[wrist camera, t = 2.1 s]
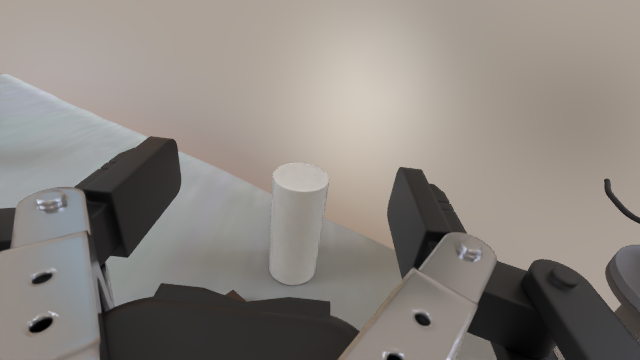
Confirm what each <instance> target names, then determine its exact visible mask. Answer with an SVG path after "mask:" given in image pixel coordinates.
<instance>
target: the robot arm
mask: <svg viewBox="0 0 640 360" xmlns="http://www.w3.org/2000/svg"><path fill="white" fill-rule="evenodd" d="M604 182H605V192H606V194H607V196H608V197H609V198H610V200H611V201H612V202H613V203H614V204H615V206H616V207H617V208H618V209H619V210H620V211H621V212H622V213H623V214H624V215H626V216H627V217H628V218H630V219H631V220H634V221H635V222H637V223H639V224H640V218H639V217H637V216H635V215H634V214H632V213H631V212H630V211H629V210H627V209H626V208H625V207H624V206H623V205H622V204H621V202H620V201H619V200H618V199H617V198H616V197H615V195H614V194H613V193H612V191H611V184H610V180H609V179H605V180H604ZM180 186H181V173H180V165H179V156H178V149H177V144H176V141H175V140H174V139H169V138H160V137H152V136H151V137H149V138H147V139H146V140H145V141H144V142H142V143H141V144H140V145H138V146H137V147H136V148H133V149H130V150H127V151H125V152H122V153H120V154H118V155H117V156H115V157H114V158H113V159H111V160H110V161H109V163H106V164H105V165H103V166H102V167H101V169H98V170H97V171H95V172H94V173H92V174H91V175H90V176H88V177H87V178H86V179H84V180H83V181H82V182H80V183H79V184H78V185H76V186H75V187H74V188H72V187H57V188H51V189H46V190H42V191H39V192H36V193H34V194H32V195H30V196H28V197H26V198H24V199H23V200H22V201H21V202H19V204H18V205H17V207H16V208H4V209H0V360H454V358H455V356H456V354H457V352H458V350H459V347H460V345H461V343H462V341H463V339H464V336H465V334H466V332H468V333H471V334H473V335H476V336H478V337H481V338H483V339H486V340H489V341H490V342H491V345H492V347H493V350H494V352H495V355H496V357H497V360H558V358H557V356H556V355H555V353H554V351H553V349H554V348H555V347H556V346H558V348H559V350H560V352H561V353H562V355H563V357H564V358H565V360H640V344H639V343H638V342H637V340H636V339H635V338H634V337H633V335H632V334H631V333H630V332H629V331H628V329H627V328H626V327H625V326H624V324H623V323H622V322H621V321H620V320H619V318H618V317H617V316H616V315H615V313H614V312H613V311H612V310H611V309H610V307H609V306H608V305H607V304H606V303H605V301H604V300H603V299H602V298H601V297H600V295H599V294H598V293H597V292H596V290H595V289H594V288H593V287H592V285H591V284H590V283H589V282H588V281H587V280H586V279H585V278H584V277H582V276H581V275H580V274H579V273H577V272H576V271H574V270H573V269H571V268H569V267H567V266H565V265H563V264H560V263H558V262H555V261H551V260H544V259H541V260H536V261H534V262H533V263H532V264H531V266H530V267H529V269H528V271H526V270H522V269H519V268H516V267H513V266H510V265H507V264H504V263H501V262H499V261H497V258H496V255H495V252H494V251H493V250H492V248H491V247H490V246H488V245H487V244H486V243H485V242H483V241H482V240H480V239H478V238H477V237H474V236H472V235H469V234H467V233H466V231H465V229H464V227H463V226H462V224H461V222H460V220H459V218H458V217H457V215H456V213H455V212H454V209H453V208H452V206H451V204H449V200H448V199H447V197H446V195H445V193H444V192H443V191H441V190H440V189H439V188H438V187H437V186H435V185H434V184H429V183H428V181H427V179H426V177H425V175H424V173H423V171H422V170H421V169H412V168H404V167H400V168H399V170H398V172H397V174H396V178H395V182H394V185H393V189H392V193H391V196H390V200H389V204H388V212H387V216H388V222H389V226H390V231H391V235H392V239H393V243H394V247H395V251H396V256H397V260H398V264H399V268H400V272H401V276H402V281H401V282H400V283H399V284H398V286H397V287H396V288H395V289H394V291H393V292H392V293H391V294H390V296H389V297H388V298H387V299H386V300H385V302H384V303H383V304H382V305H381V307H380V308H379V309H378V310H377V312H376V313H375V314H374V315H373V317H372V318H371V319H370V320H369V321H368V323H367V324H366V325H365V326H364V328H363V329H362V330H361V331H359V330H357V329H356V328H355V327H353V326H352V325H350V324H348V323H347V322H345V321H343V320H341V319H339V318H337V317H334V316H331V315H330V302H329V301H320V300H311V299H301V298H292V297H286V298H277V299H268V300H259V301H250V302H243V301H239V300H236V299H233V298H230V297H228V296H225V295H222V294H219V293H216V292H214V291H211V290H208V289H205V288H200V287H191V286H182V285H173V284H164V283H161V285H160V286H159V288H158V290H157V291H156V293H155V295H154V296H153V297H148V298H143V299H138V300H134V301H131V302H128V303H124V304H122V305H119V306H117V307H115V305H114V299H113V294H112V289H111V283H110V278H109V272H108V268H107V264H106V260H107V259H108V258H109V257H110V256H118V257H127V258H128V257H129V256H130V254H131V253H132V252H133V250H134V249H135V248H136V247H137V245H138V244H139V243H140V242H141V240H142V239H143V238H144V236H145V235H146V234H147V233H148V231H149V230H150V229H151V227H152V226H153V225H154V224H155V222H156V221H157V220H158V219H159V217H160V216H161V215H162V213H163V212H164V211H165V210H166V208H167V207H168V206H169V204H170V203H171V202H172V201H173V199H174V198H175V197H176V196H177V194H178V192H179V190H180Z"/></svg>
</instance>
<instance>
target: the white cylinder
mask: <svg viewBox="0 0 640 360" xmlns="http://www.w3.org/2000/svg"><path fill="white" fill-rule="evenodd" d="M328 184H329V177H328V175H327V173H326V172H325V171H324V170H322V169H321V168H319V167H317V166H314V165H311V164H307V163H288V164H284V165H282V166H279V167H278V168H277V169H275V171H274V172H273V179H272V204H271V229H270V253H269V271H270V273H271V275H272V276H273V277H274V278H275V279H276V280H277V281H278V282H280V283H283V284H286V285H300V284H303V283H306V282H307V281H309V280H310V279H311V278H312V277H313V276H314V274H315V271H316V265H317V258H318V252H319V245H320V238H321V232H322V225H323V218H324V211H325V205H326V198H327V191H328Z"/></svg>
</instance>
